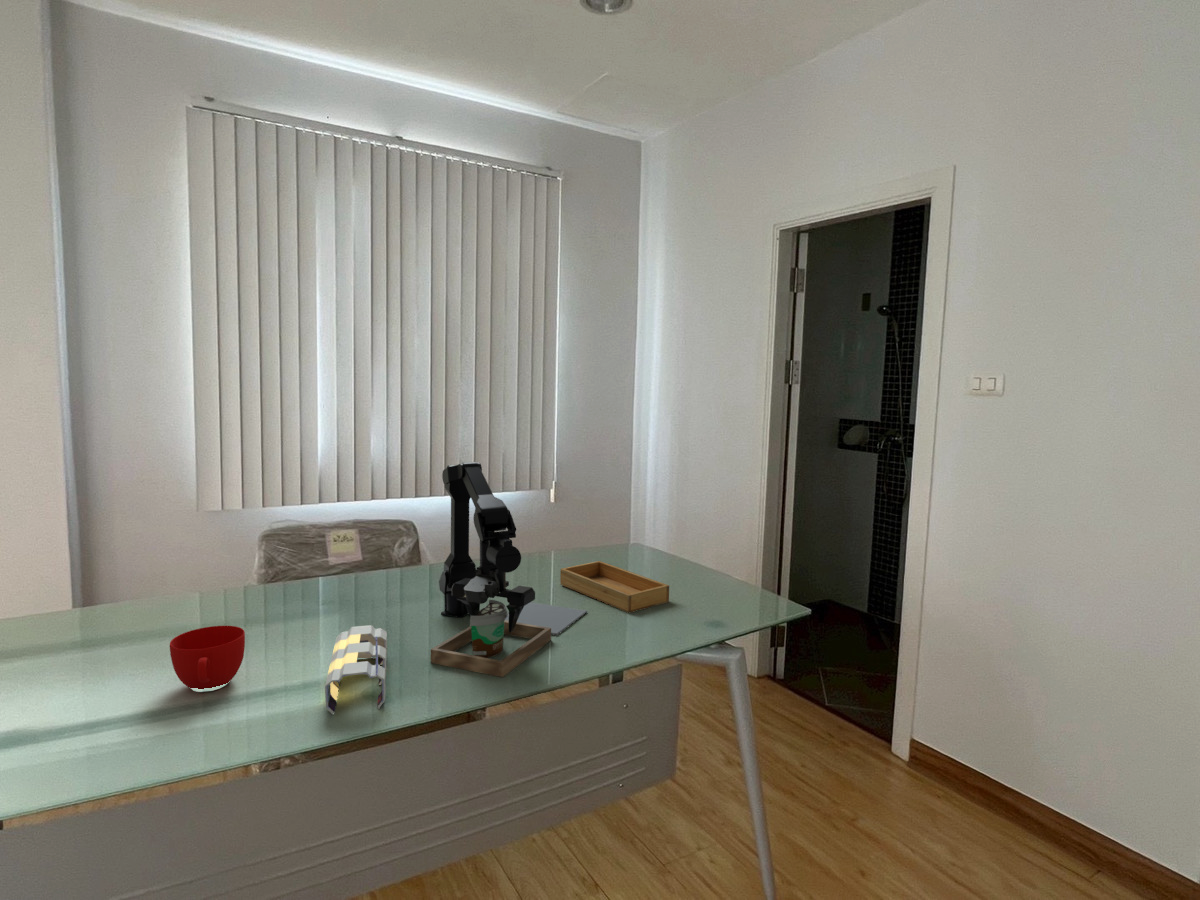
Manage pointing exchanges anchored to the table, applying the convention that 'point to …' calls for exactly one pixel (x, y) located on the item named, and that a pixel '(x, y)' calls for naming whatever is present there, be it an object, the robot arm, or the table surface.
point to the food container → (488, 629)
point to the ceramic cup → (208, 655)
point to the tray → (615, 586)
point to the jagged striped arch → (345, 660)
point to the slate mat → (549, 616)
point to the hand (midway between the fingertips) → (493, 628)
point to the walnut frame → (448, 657)
